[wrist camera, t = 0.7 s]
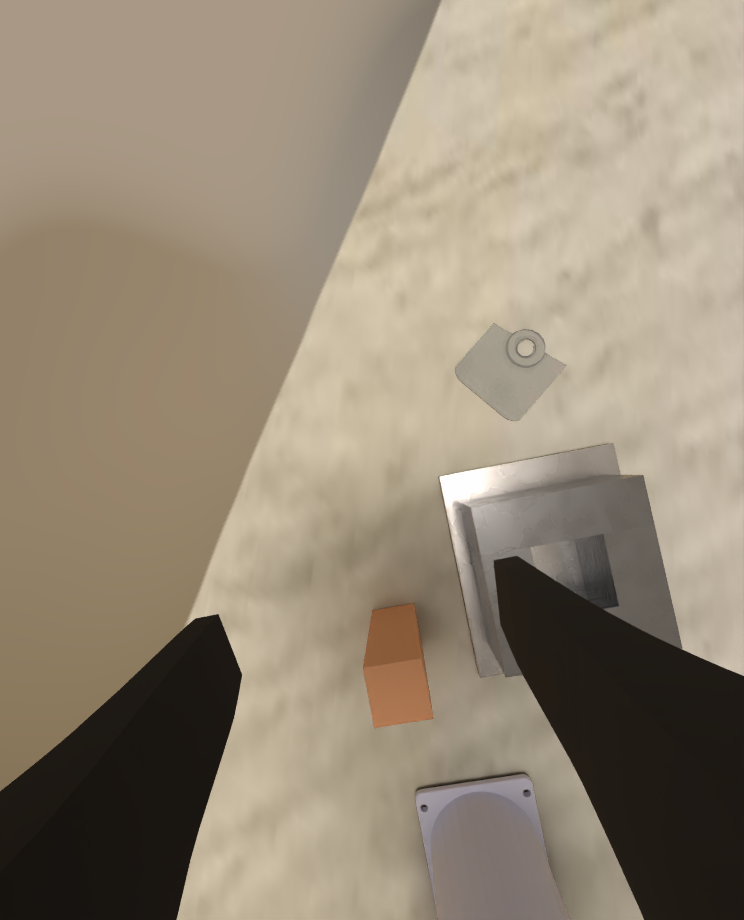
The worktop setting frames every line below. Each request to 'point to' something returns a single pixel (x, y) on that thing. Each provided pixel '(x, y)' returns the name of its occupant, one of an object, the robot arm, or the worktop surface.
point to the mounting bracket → (508, 371)
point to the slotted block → (557, 542)
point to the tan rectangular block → (396, 668)
